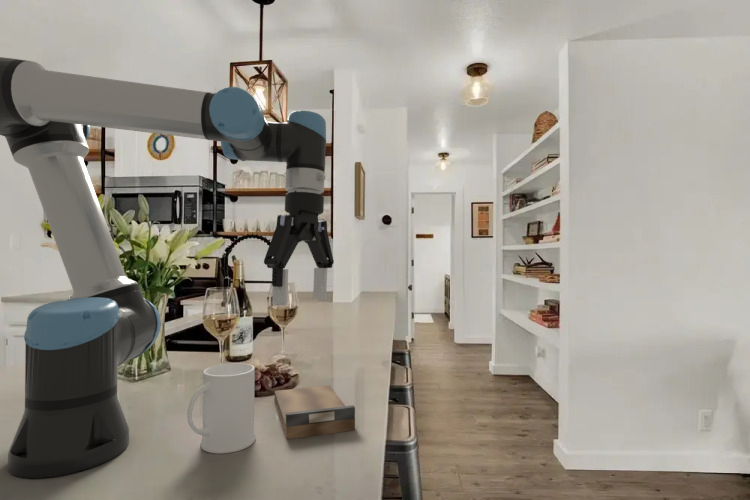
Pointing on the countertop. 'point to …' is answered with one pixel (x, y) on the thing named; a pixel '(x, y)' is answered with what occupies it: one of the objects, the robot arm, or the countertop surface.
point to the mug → (226, 408)
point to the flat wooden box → (313, 412)
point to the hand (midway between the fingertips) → (301, 301)
